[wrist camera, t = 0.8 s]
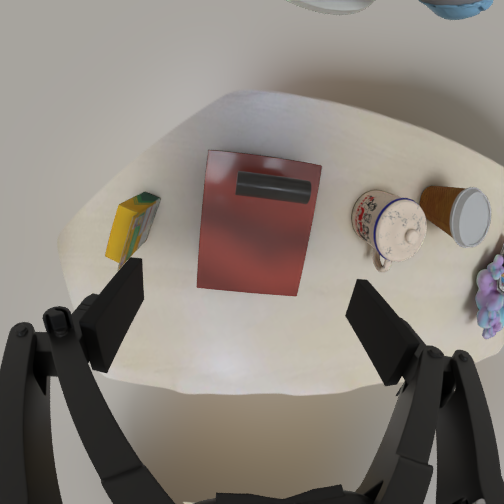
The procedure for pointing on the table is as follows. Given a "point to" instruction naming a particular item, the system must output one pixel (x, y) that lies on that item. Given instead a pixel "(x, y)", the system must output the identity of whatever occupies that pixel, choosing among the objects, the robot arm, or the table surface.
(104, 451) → the robot arm
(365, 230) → the teacup with lid
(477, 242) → the disposable coffee cup
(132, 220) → the crayon box
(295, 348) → the table surface
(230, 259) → the lid
